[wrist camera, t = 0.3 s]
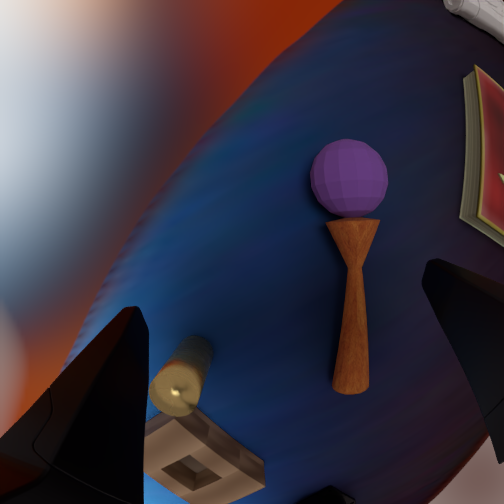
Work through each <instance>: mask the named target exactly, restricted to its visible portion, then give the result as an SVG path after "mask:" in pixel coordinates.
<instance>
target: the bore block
mask: <svg viewBox="0 0 504 504" xmlns="http://www.w3.org/2000/svg"><path fill="white" fill-rule="evenodd" d="M144 472H145V473H146V474H147V475H149V476H150V477H151V478H153V479H154V480H155V481H157V482H158V483H160V484H161V485H162V486H164V487H165V488H167V489H168V490H170V491H171V492H173V493H174V494H176V495H177V496H179V497H180V498H182V499H184V500H185V501H187V502H188V503H190V504H228V503H231V502H233V501H235V500H238V499H240V498H242V497H245V496H247V495H249V494H251V493H253V492H256V491H258V490H260V489H262V488H264V487H266V486H265V473H264V461H263V460H261V459H260V458H258V457H257V456H256V455H254V454H253V453H252V452H250V451H249V450H248V449H246V448H245V447H244V446H242V445H241V444H240V443H238V442H237V441H236V440H235V439H233V438H232V437H231V436H230V435H228V434H227V433H226V432H225V431H223V430H222V429H221V428H220V427H219V426H217V425H216V424H215V423H214V422H213V421H211V420H210V419H209V418H208V417H207V416H206V415H205V414H203V413H202V412H201V411H200V410H199V409H198V408H197V407H196V408H195V410H194V411H193V412H192V413H190V414H188V415H186V416H181V417H176V416H171V415H168V414H165V413H163V412H161V413H159V414H158V415H156V416H155V417H153V418H152V419H150V420H149V421H147V422H146V423H145V440H144Z"/></svg>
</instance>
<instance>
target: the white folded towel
mask: <svg viewBox="0 0 504 504" xmlns="http://www.w3.org/2000/svg"><path fill="white" fill-rule="evenodd" d="M443 2H444V5H445V7H446V8H447V9H448V10H449V12H451V13H453V14H456V15H457V14H458V15H460V16H462V17H463V18H464V19H465V20H467V21H468V22H470V23H472V24H473V25H475V26H477V27H478V28H480V29H483V30H485V31H487V32H488V33H490V34H491V35H493V36H494V37H496V39H497V40H498V41H500V42H501V43H503V44H504V2H503V1H502V0H443Z"/></svg>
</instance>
